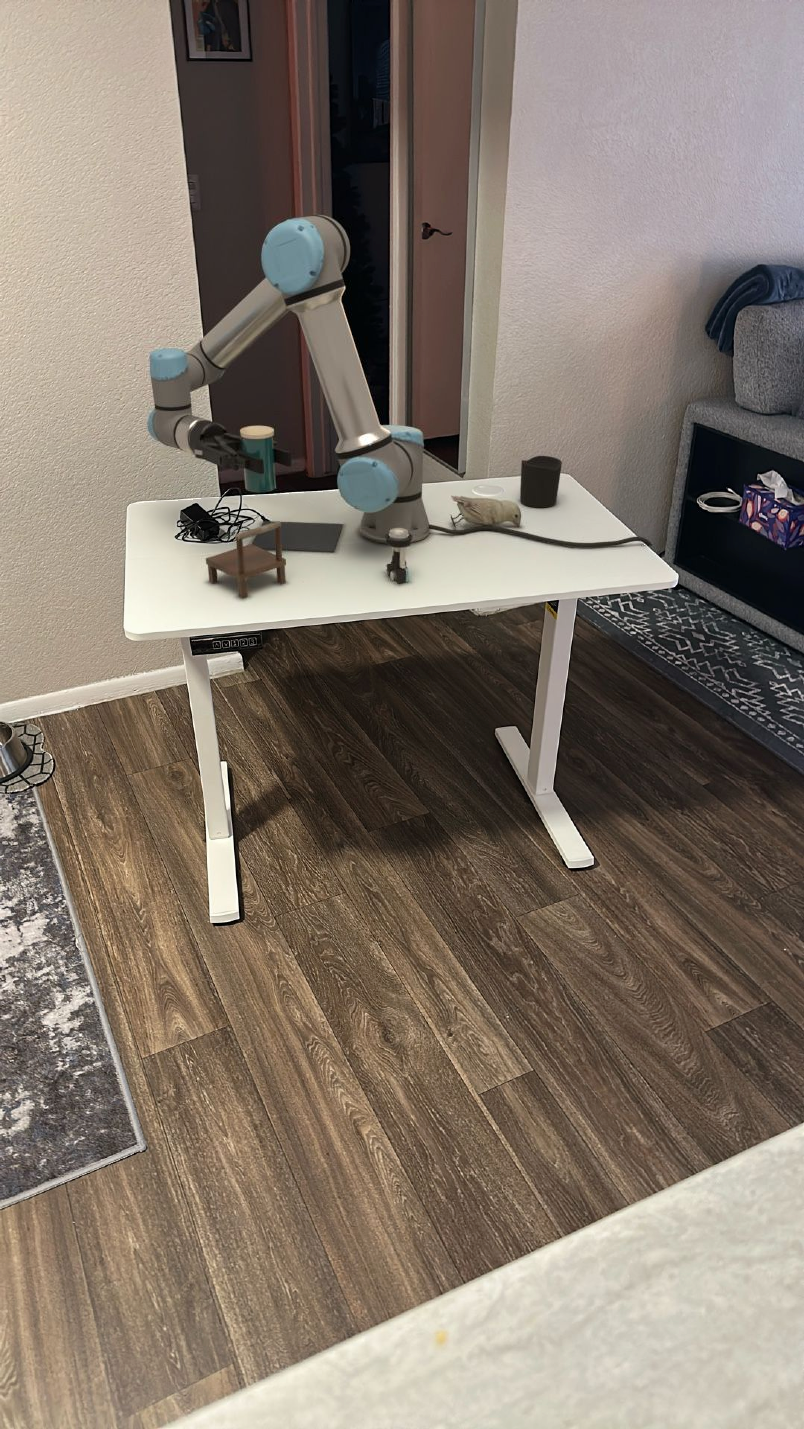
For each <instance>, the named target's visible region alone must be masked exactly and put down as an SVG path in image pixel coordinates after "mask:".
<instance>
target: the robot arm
mask: <svg viewBox="0 0 804 1429" xmlns="http://www.w3.org/2000/svg"><path fill="white" fill-rule="evenodd" d="M350 255H351V245H350V239H349V237H348V234H347V232H346V230H345V229H344V227H343V226H342V225H341V224H340V223H339V222H338V221H337V220H336V219H334V218H332V217H330V216H329V215H328V216H327V215H323V214H313V215H309V216H303V217H292V218H291V219H286V220H285V221H283V222H279V223H278V224H277V225H276V226H274V227H273V228H272V229H271V230H269V232H268V233H267V235H266V237H265V239H264V242H263V243H262V247H261V255H260V257H261V258H260V259H261V267H262V271H263V274H264V275H265V278H264V279H262V280H261V282H260V283H259V284H257V285H256V286H255V287H254V288H253V289H252V290H251V292H249V293H248V294H247V295H246V296H245V297H244V298H243V299H242V300H241V301H240V302H238V304H237V305H236V306H234V307H233V308H232V310H230V311H229V312H228V314H226V315H225V316H224V317H223V318H222V319H221V320H220V321H219V322H218V323H217V324H216V325H215V326H214V327H213V328H211V330H209V332H208V333H207V334H206V335H204V336H203V337H202V339H201V340H199V341H198V342H197V343H196V344H195V345H193V347H191V349H190V350H188V351H186V352H185V350H183V349H182V348H175V347H166V348H165V347H164V348H158V349H154V350H152V351H151V352H150V354H149V357H148V358H149V359H148V360H149V376H150V381H151V388H152V389H151V390H152V397H153V403H154V409H152V410H151V412H149V415H148V419H147V421H146V422H147V423H146V425H147V431H148V434H149V435H150V436H151V438H153V439H154V440H155V441H157V442H158V443H161V444H162V445H163V446H165V447H170V448H174V449H177V450H180V451H182V452H186V453H189V454H191V455H194V458H195V459H199V460H204V461H207V462H209V463H211V464H213V465H215V466H218V467H220V468H223V469H227V468H229V466H231V470H232V471H239V467H240V468H242V469H244V468H245V469H248V470H250V471H253V472H256V473H259V474H264V464H263V459H261V458H258V457H255V456H252V455H249V454H246V453H243V450H242V437H241V435H235V434H233V433H230V432H228V430H226V428H225V427H224V426H223V425H222V424H220V423H218V422H215V421H211V420H209V419H206V418H203V417H200V416H196V415H193V408H192V397H191V393H192V392H194V391H196V390H199V389H201V388H203V387H205V386H208V385H211V384H213V383H215V382H216V381H218V380H219V379H221V378H222V377H223V375H224V373H225V371H226V369H227V368H229V367H230V365H231V364H233V362H235V361H236V360H237V359H238V358H240V356H241V355H242V354H244V353H245V352H246V351H247V350H248V349H249V348H250V347H251V346H252V345H254V343H256V342H257V341H258V340H259V339H260V338H261V337H262V336H264V335H265V333H267V332H268V331H269V330H270V329H271V328H272V327H273V326H275V324H276V323H278V322H279V321H280V320H281V319H282V318H283V317H284V316H286V315H287V313H289V312H292V313H294V314H296V316H297V317H298V320H299V323H300V326H301V329H302V333H303V336H304V338H305V342H306V344H307V347H308V350H309V353H310V356H311V360H312V362H313V365H314V368H315V371H316V374H317V377H318V381H319V383H320V386H321V390H322V393H323V396H324V398H325V401H326V405H327V407H328V410H329V414H330V416H331V419H332V422H333V425H334V428H335V431H336V434H337V438H338V442H337V445H336V447H335V449H334V452H335V455H336V459H337V461H338V464H339V471H338V474H337V478H336V480H337V481H336V482H337V483H336V484H337V489H338V492H339V495H340V496H341V498H342V499H343V500H344V502H346V503H347V505H349V506H350V507H351V508H352V509H355V510H356V511H359V512H362V513H363V515H362V517H361V519H360V520H361V521H360V534H361V535H362V536H363V538H366V539H367V540H369V541H371V542H376V543H380V544H386V539H385V535H386V534H387V533H389V532H390V530H391V529H393V528H404V529H407V530H408V533H410V534H412V536H413V537H412V540H411V544H412V543H416V542H419V541H422V540H424V539H426V537H428V536H429V535H430V530H434V531H438V532H442V533H444V534H448V535H465V534H470V533H472V532H479V531H494V532H501V533H505V534H509V535H512V536H513V535H514V536H519V537H522V538H527V539H531V540H534V541H538V542H543V543H548V544H552V545H558V546H562V547H563V546H565V547H573V548H601V547H602V548H603V547H614V546H620V545H624V544H629V543H633V542H640V543H644V544H645V545H646V546H648V547H651V546H653V544H652V542H651V541H650V540H649V539H647V538H646V537H642V536H630V537H627V538H623V539H618V540H611V541H598V542H577V541H576V542H575V541H566V540H561V539H555V538H549V537H545V536H541V535H536V534H532V533H529V532H524V531H522V530H521V531H520V530H515V529H511V528H506V527H502V526H498V525H496V526H482V525H475V526H471V527H468V528H464V529H456V530H455V529H450V528H447V527H443V526H439V525H435V524H434V525H433V524H430V521H429V518H428V513H427V511H426V508H425V505H424V501H423V474H424V472H423V471H424V470H423V468H424V447H425V444H424V434H423V431H421V430H420V429H419V428H416V427H412V426H407V425H396V424H380V420H379V417H378V414H377V411H376V408H375V405H374V401H373V398H372V396H371V392H370V388H369V385H368V382H367V379H366V375H365V372H364V369H363V367H362V363H361V359H360V357H359V353H358V350H357V347H356V344H355V341H354V337H353V335H352V331H351V328H350V325H349V322H348V319H347V316H346V313H345V309H344V305H343V303H342V296H343V294H344V292H345V290H346V285H345V282H344V278H343V275H342V274H343V272H344V271H345V270H346V268H347V266H348V264H349V261H350ZM273 442H274V459H275V464H278V465H282V466H284V467H288V468H289V467H292V456H291V455H292V451H289V450H285V449H283V448H279V447H278V441H276V440H273Z"/></svg>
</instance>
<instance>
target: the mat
mask: <svg viewBox="0 0 804 1429" xmlns="http://www.w3.org/2000/svg"><path fill="white" fill-rule="evenodd" d="M274 522H275V521H271V520H270V521H268V520H263V521H262V523H261V525H260V527H261V526H264V525H267V524H271V523H274ZM279 522H280V523H281V544H282V552H284V551H285V552H288V551H289V552H312V553H313V552H314V553H335V551H336V547H337V544H338V541H339V538H340V535H341V532H342V529H343V525H344V524H343V523H330V522H329V523H327V522H303V521H302V522H300V521H279ZM251 544H252V545H255V546H257V547H259V548H261V549H264V550H266V551H276V549H275V532H274V529H273V530H270V531H267V532H264V533H261V534H257V535H254V538H253V540H252V541H251Z"/></svg>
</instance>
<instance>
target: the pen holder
mask: <svg viewBox="0 0 804 1429" xmlns="http://www.w3.org/2000/svg"><path fill="white" fill-rule="evenodd" d="M520 463H521V464H520V466H521V467H520V468H521V469H520V487H519V488H520V490H519V492H520V493H519V500H520V502H521V504H522V505H524V506H526V507H530V508H534V509H546V508H551V507H554V506H555V505H556V503H557V499H558V493H559V485H560V479H561V473H562V472H561V471H562V466H563V465H562V464H563V462H562V460H560V459H559V458H557V457H554V456H548V455H536V456H533V457H531V458H529V459H527V460H525V459H522V460H521V462H520Z"/></svg>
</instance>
